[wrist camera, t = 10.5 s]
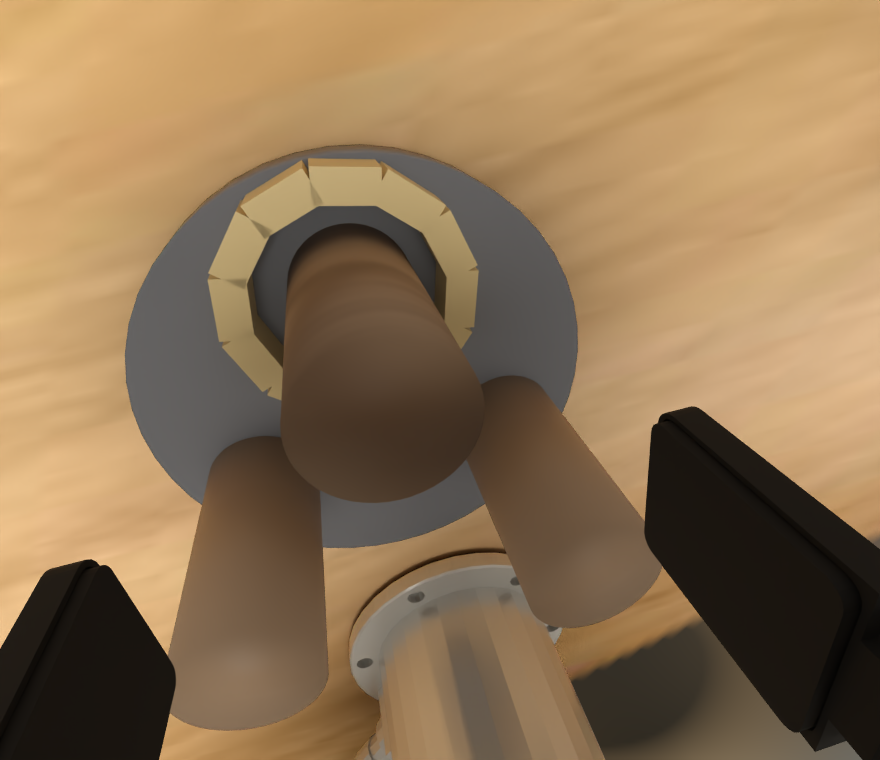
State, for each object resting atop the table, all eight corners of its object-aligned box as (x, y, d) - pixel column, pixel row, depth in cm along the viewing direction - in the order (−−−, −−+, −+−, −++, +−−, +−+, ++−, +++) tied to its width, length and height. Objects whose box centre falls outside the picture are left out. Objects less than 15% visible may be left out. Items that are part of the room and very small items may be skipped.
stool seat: (430, 548, 27) (489, 764, 18) (80, 452, 20) (-80, 730, 12) (630, 283, 22) (839, 417, 13) (252, 28, 15) (188, -28, 6)
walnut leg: (376, 358, 18) (420, 522, 12) (266, 311, 17) (245, 471, 10) (434, 260, 17) (522, 381, 10) (322, 198, 15) (340, 294, 9)
